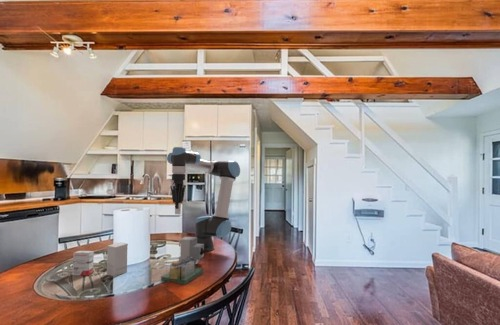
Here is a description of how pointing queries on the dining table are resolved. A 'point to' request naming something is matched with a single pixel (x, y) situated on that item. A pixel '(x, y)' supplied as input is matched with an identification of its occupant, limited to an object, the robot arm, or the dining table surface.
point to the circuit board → (182, 273)
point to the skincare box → (117, 259)
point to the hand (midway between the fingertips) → (177, 214)
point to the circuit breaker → (191, 248)
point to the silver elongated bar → (182, 261)
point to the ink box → (83, 263)
